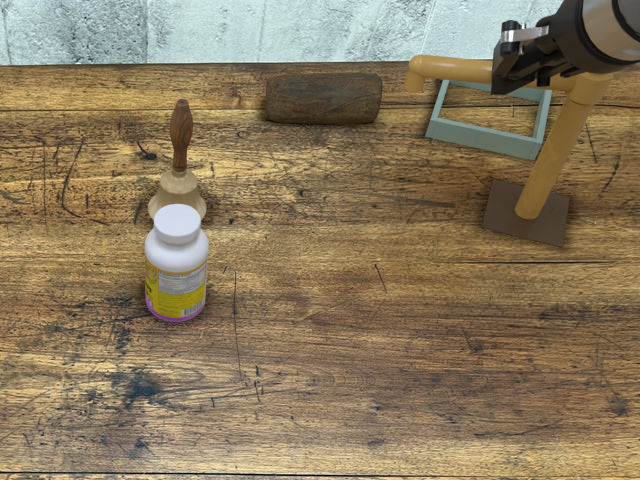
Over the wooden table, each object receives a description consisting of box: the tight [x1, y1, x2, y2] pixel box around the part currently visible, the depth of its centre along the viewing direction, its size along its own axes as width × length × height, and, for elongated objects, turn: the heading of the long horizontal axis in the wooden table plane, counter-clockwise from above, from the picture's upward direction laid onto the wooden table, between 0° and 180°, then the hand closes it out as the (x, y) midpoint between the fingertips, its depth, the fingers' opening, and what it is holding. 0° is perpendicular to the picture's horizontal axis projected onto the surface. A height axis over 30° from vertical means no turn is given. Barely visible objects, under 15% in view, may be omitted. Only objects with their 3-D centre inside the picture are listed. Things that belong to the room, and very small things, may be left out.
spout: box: [403, 53, 615, 105], centre depth 84 cm, size 20×4×5 cm, turn 77°
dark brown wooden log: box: [263, 72, 384, 125], centre depth 108 cm, size 15×7×7 cm, turn 90°
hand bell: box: [147, 98, 207, 221], centre depth 94 cm, size 8×8×16 cm
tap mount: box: [481, 96, 595, 248], centre depth 91 cm, size 9×9×17 cm
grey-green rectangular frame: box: [424, 79, 553, 161], centre depth 107 cm, size 14×14×4 cm
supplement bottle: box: [144, 204, 210, 323], centre depth 86 cm, size 7×7×13 cm
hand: (499, 80), depth 83 cm, fingers closed
